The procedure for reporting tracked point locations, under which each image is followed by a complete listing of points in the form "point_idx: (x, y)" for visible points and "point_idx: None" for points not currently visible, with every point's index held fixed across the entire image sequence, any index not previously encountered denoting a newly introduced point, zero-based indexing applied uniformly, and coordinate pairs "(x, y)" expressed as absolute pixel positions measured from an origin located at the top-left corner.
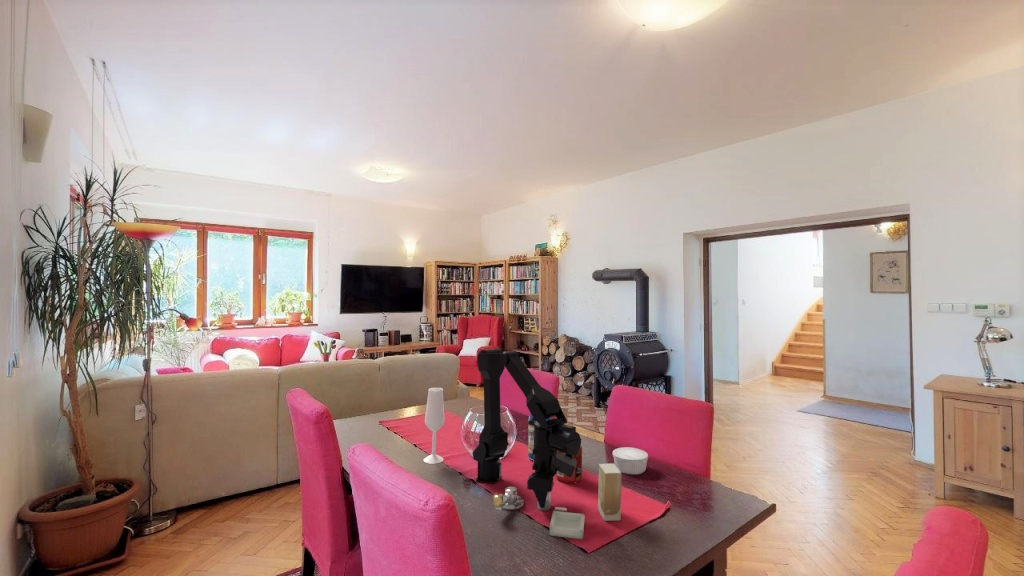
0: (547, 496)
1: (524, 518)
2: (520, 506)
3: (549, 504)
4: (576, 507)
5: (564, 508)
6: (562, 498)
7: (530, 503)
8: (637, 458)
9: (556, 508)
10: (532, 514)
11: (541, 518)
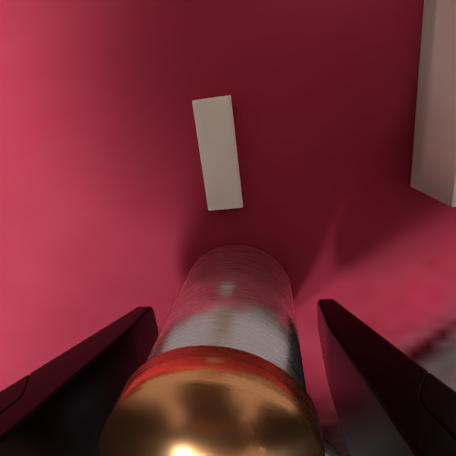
0: (280, 341)
1: None
2: None
3: (255, 268)
4: (116, 4)
5: (207, 120)
6: (22, 182)
7: None
8: None
9: (236, 194)
10: None
11: (422, 279)
